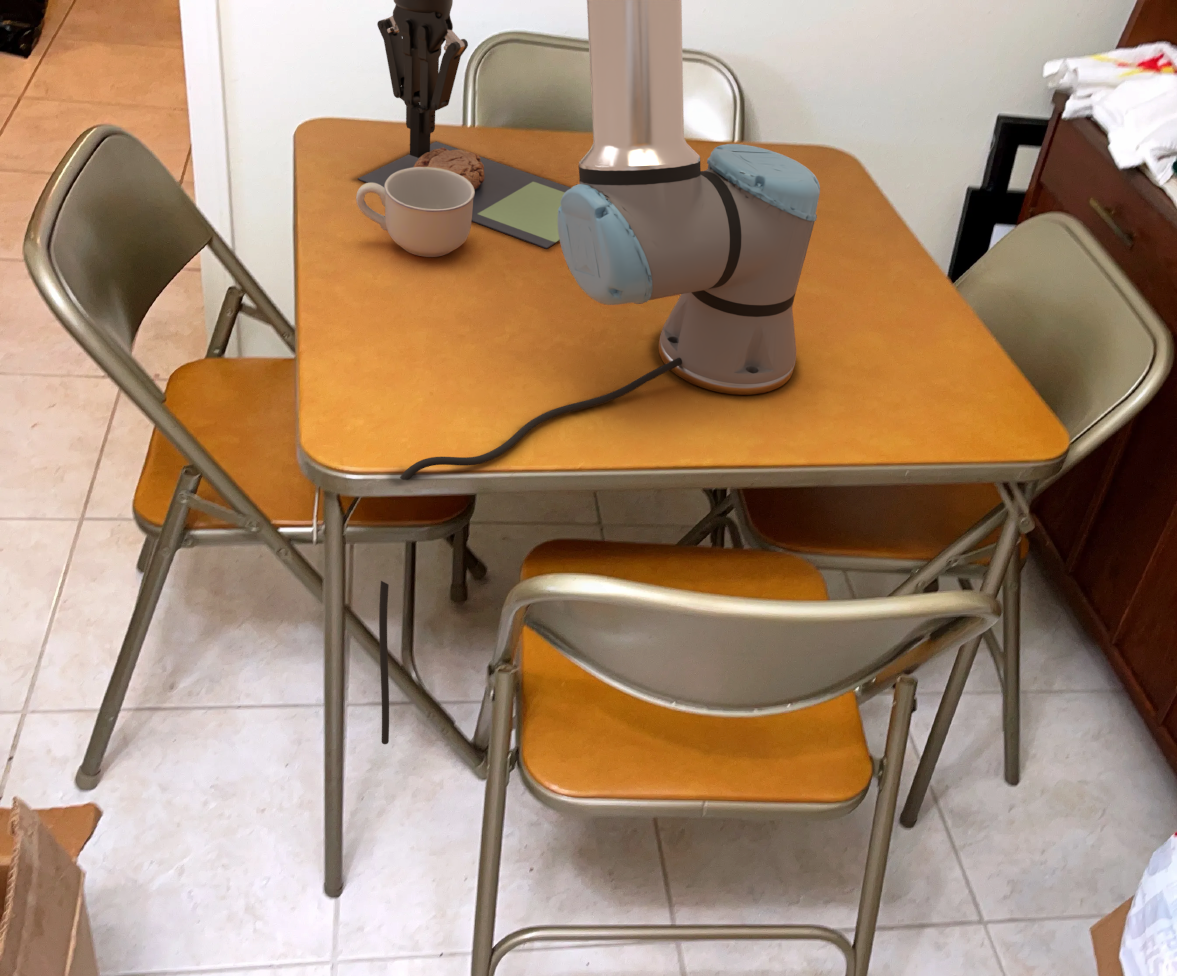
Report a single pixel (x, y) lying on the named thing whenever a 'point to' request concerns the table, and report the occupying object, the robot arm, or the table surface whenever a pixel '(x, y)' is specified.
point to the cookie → (455, 163)
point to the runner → (502, 199)
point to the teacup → (423, 209)
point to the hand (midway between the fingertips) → (419, 153)
